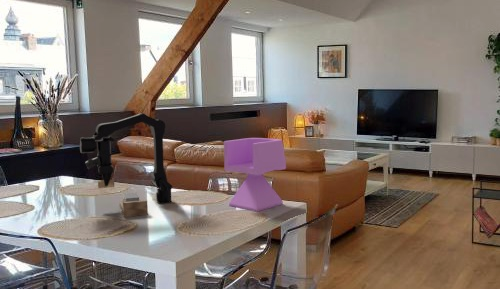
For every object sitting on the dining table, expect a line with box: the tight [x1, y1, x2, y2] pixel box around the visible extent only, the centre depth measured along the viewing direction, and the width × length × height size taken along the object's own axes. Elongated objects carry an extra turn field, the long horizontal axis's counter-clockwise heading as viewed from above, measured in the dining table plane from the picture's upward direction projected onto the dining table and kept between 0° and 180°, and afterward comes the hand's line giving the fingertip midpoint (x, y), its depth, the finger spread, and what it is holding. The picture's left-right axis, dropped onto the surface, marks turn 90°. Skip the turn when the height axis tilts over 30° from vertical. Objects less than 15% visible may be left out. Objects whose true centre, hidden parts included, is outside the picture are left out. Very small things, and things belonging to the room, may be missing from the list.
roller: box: [97, 179, 115, 189], centre depth 227 cm, size 7×4×4 cm, turn 109°
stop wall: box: [122, 199, 149, 218], centre depth 215 cm, size 10×2×6 cm, turn 109°
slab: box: [122, 192, 140, 202], centre depth 230 cm, size 6×12×2 cm, turn 19°
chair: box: [223, 137, 287, 213], centre depth 227 cm, size 20×20×30 cm
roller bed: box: [119, 197, 142, 216], centre depth 225 cm, size 10×22×4 cm, turn 19°
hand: (106, 185), depth 227 cm, fingers closed on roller, 3 cm apart
